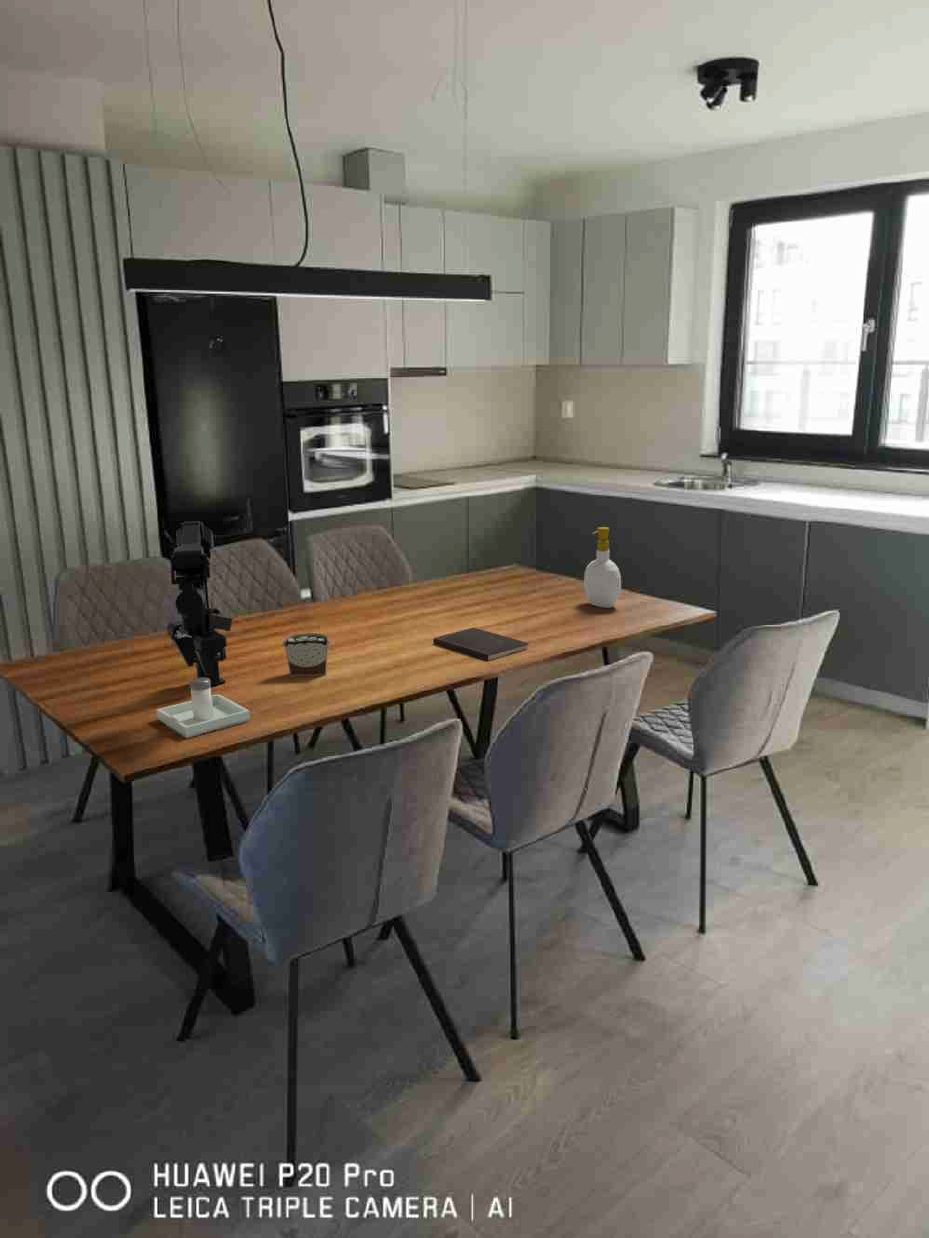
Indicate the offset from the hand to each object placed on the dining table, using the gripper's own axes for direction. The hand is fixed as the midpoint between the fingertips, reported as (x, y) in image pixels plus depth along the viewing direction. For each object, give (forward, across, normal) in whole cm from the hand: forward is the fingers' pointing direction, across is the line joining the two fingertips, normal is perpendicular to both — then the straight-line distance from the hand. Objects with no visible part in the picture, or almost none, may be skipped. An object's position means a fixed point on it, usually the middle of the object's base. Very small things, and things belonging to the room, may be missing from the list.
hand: (199, 670), depth 221 cm
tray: (+12, 0, 0) cm, 12 cm away
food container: (+12, +14, -37) cm, 41 cm away
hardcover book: (+13, 0, -85) cm, 86 cm away
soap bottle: (+12, +7, -144) cm, 144 cm away
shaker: (+11, 0, 0) cm, 11 cm away
